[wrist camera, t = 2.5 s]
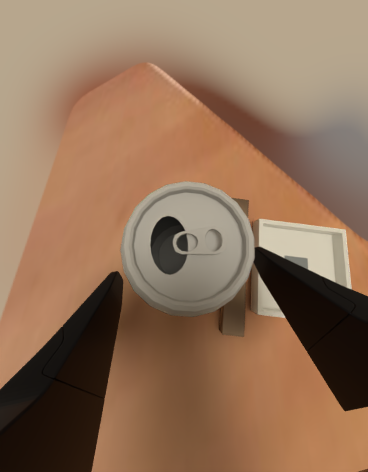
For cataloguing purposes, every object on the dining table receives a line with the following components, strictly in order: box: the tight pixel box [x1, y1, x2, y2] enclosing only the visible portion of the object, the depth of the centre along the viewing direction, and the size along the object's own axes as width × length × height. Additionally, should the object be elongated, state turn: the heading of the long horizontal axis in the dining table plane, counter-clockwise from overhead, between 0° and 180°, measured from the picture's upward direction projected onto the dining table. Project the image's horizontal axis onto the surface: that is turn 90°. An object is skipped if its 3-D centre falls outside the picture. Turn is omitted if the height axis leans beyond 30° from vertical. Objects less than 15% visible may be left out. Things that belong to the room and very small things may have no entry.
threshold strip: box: [219, 198, 249, 337], centre depth 18 cm, size 16×2×1 cm, turn 173°
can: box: [121, 181, 255, 317], centre depth 12 cm, size 8×8×12 cm
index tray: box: [251, 219, 351, 318], centre depth 18 cm, size 11×11×2 cm
